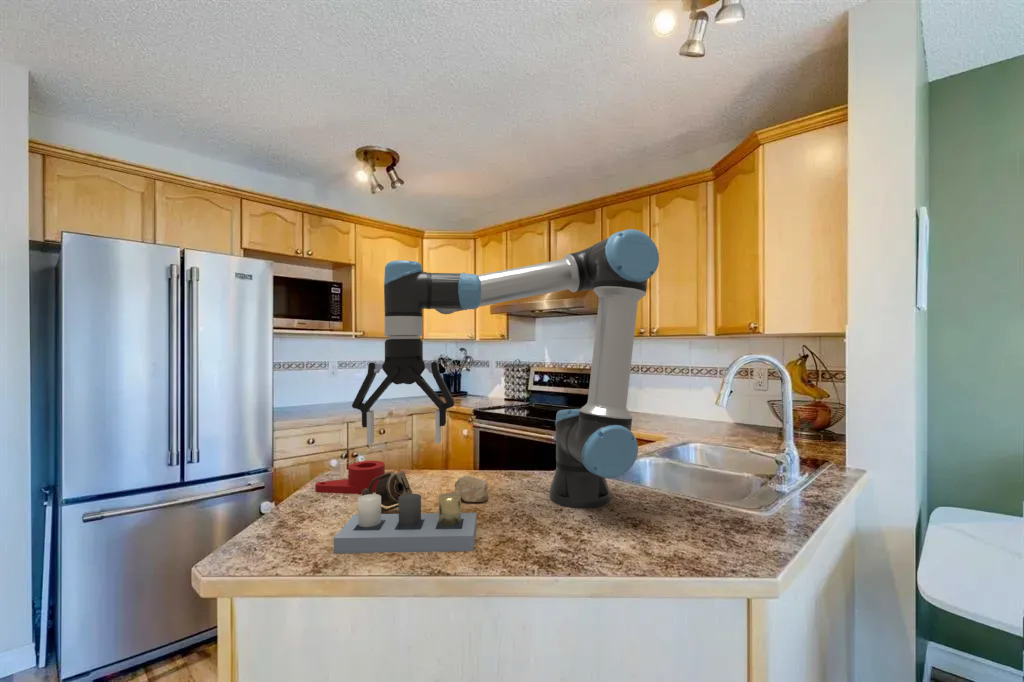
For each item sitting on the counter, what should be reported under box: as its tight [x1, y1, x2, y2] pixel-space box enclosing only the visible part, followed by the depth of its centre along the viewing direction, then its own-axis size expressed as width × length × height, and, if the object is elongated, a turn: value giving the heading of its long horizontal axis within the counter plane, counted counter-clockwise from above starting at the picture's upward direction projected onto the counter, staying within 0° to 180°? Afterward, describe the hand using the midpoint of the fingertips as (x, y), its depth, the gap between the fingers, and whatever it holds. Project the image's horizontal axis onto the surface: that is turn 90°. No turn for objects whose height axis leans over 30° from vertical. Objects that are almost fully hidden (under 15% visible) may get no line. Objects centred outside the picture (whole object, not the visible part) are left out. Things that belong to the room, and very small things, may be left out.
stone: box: [454, 475, 489, 503], centre depth 119 cm, size 8×10×4 cm
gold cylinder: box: [438, 492, 462, 526], centre depth 94 cm, size 4×4×5 cm
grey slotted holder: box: [333, 512, 478, 554], centre depth 94 cm, size 26×12×3 cm, turn 91°
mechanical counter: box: [361, 470, 413, 512], centre depth 108 cm, size 7×13×10 cm, turn 78°
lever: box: [314, 460, 386, 495], centre depth 126 cm, size 18×9×7 cm, turn 97°
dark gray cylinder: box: [398, 493, 422, 526], centre depth 94 cm, size 4×4×5 cm
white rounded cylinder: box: [357, 493, 382, 527], centre depth 94 cm, size 4×4×5 cm
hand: (404, 443), depth 95 cm, fingers open, 13 cm apart
